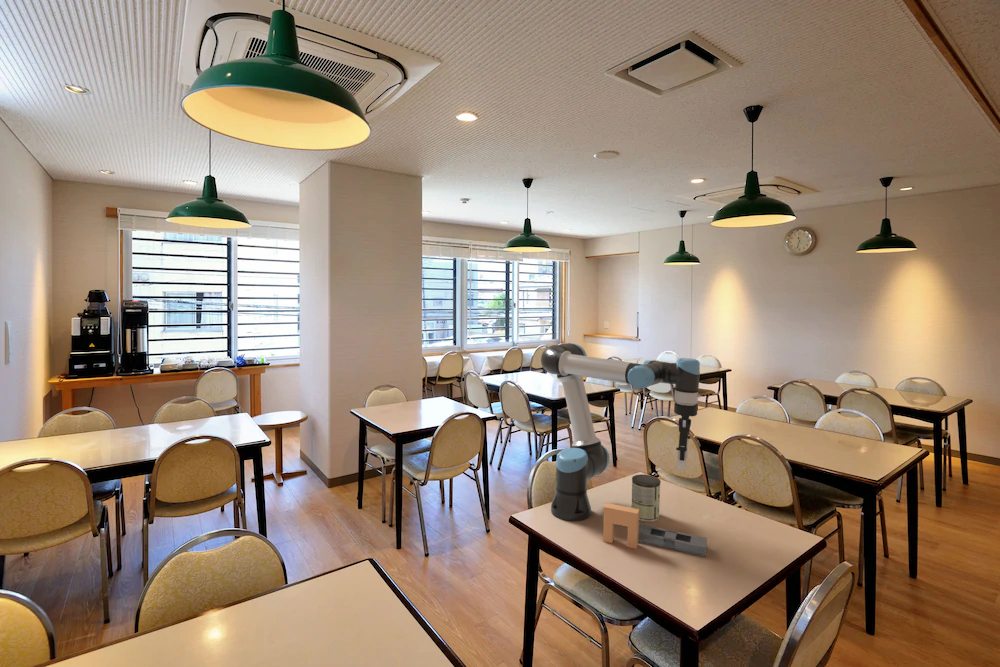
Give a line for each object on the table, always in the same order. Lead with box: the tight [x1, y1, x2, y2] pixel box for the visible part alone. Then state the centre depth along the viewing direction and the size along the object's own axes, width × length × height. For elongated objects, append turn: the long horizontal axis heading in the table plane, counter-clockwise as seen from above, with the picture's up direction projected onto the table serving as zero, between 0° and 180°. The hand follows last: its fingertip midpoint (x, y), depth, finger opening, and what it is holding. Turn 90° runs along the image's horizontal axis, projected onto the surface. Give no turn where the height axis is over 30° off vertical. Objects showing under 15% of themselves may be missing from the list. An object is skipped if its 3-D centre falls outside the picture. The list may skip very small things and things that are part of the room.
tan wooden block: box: [602, 502, 640, 550], centre depth 159 cm, size 11×4×12 cm, turn 64°
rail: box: [638, 523, 708, 558], centre depth 159 cm, size 22×7×3 cm, turn 64°
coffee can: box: [631, 474, 661, 523], centre depth 180 cm, size 10×10×14 cm
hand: (682, 462), depth 167 cm, fingers open, 13 cm apart
